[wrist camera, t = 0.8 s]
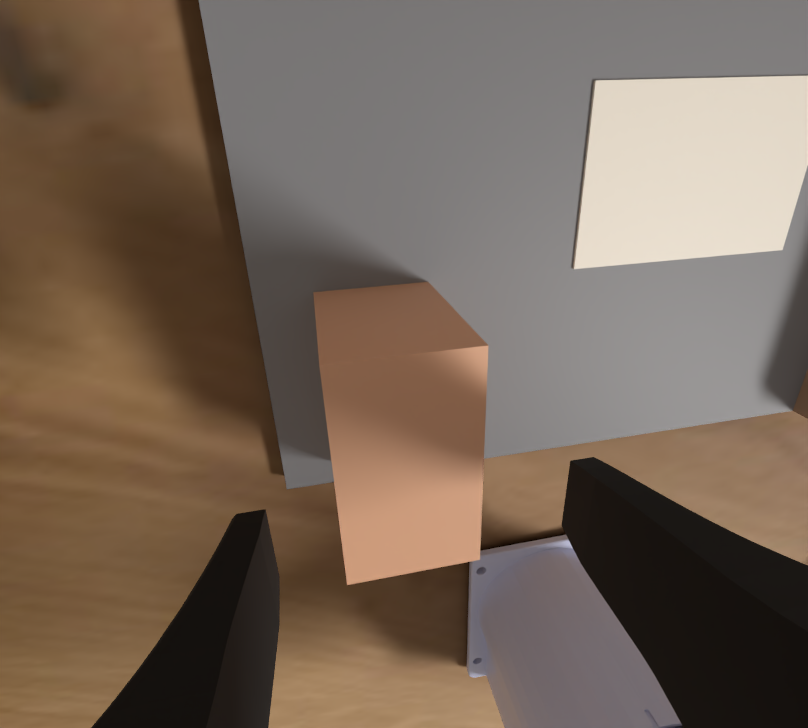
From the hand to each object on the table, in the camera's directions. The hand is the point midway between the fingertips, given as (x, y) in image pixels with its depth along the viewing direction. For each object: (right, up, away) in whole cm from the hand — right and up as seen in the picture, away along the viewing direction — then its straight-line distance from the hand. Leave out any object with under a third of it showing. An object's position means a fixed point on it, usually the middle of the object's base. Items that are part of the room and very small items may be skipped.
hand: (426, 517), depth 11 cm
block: (-1, +3, +7) cm, 8 cm away
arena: (+7, +9, +7) cm, 13 cm away
